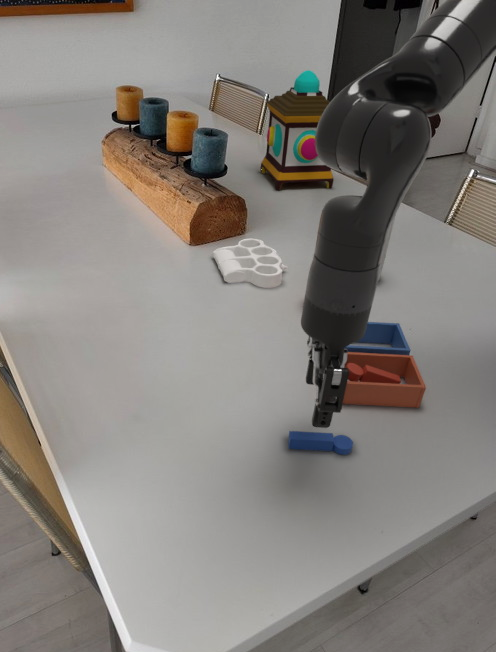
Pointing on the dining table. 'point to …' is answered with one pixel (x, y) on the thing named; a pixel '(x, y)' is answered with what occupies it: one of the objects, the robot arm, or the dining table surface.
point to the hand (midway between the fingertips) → (316, 403)
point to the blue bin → (382, 339)
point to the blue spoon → (319, 442)
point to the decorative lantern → (296, 134)
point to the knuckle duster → (250, 263)
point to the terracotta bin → (386, 392)
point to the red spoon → (371, 374)
